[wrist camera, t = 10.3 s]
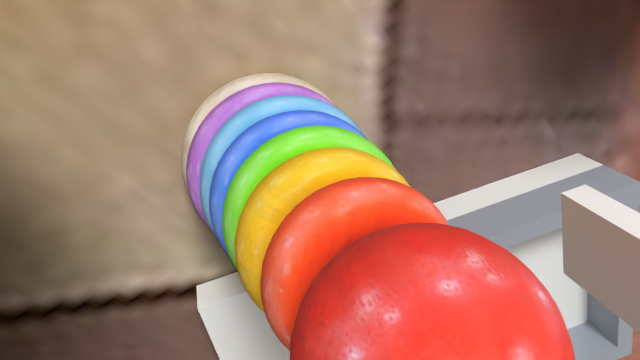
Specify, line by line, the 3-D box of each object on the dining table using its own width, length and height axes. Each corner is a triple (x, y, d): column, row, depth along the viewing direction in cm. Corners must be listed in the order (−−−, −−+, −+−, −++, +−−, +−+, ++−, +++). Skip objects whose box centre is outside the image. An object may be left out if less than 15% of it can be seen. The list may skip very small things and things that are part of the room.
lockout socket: (433, 394, 31) (453, 427, 29) (403, 235, 26) (424, 260, 24) (600, 327, 33) (631, 353, 31) (603, 164, 28) (640, 181, 25)
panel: (269, 455, 32) (275, 489, 30) (196, 285, 26) (197, 313, 24) (579, 330, 35) (604, 353, 33) (577, 153, 29) (608, 167, 27)
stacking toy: (344, 218, 27) (655, 593, 9) (190, 238, 25) (229, 759, 7) (344, 66, 24) (769, 204, 7) (171, 75, 22) (164, 299, 5)
